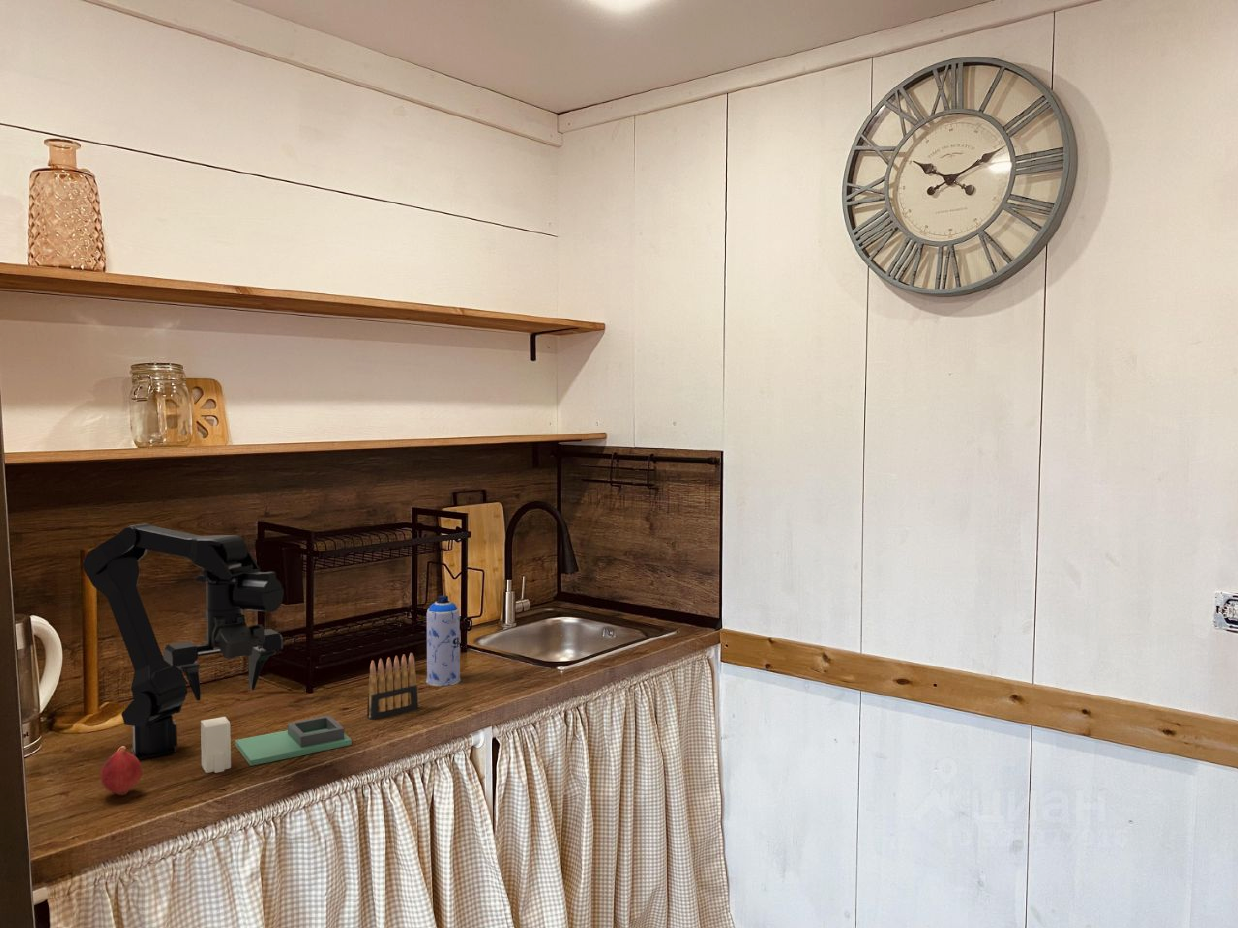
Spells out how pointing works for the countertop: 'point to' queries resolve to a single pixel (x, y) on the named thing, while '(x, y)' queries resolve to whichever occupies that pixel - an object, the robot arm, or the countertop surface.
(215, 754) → the plug
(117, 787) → the onion
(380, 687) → the ammunition clip
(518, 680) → the countertop surface
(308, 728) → the board
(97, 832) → the countertop surface
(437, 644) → the aerosol can
